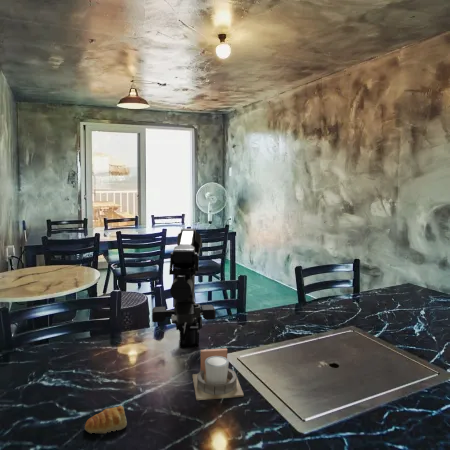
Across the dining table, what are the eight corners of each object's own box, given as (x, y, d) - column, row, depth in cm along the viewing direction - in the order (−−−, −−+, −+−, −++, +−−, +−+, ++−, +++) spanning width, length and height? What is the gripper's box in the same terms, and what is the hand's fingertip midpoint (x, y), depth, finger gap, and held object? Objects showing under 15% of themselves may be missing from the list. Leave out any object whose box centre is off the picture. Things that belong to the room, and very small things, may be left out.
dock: (196, 400, 102) (196, 389, 101) (192, 375, 115) (192, 366, 114) (243, 396, 104) (243, 386, 104) (234, 372, 117) (234, 363, 116)
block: (200, 373, 114) (201, 351, 114) (200, 371, 115) (200, 349, 115) (227, 371, 116) (227, 350, 115) (226, 370, 117) (226, 348, 116)
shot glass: (232, 381, 111) (232, 358, 110) (222, 392, 105) (222, 368, 104) (211, 376, 114) (211, 353, 113) (200, 387, 107) (200, 363, 107)
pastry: (87, 441, 86) (86, 425, 85) (82, 424, 92) (82, 409, 91) (128, 428, 90) (128, 413, 90) (122, 413, 96) (121, 399, 96)
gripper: (151, 299, 104) (151, 354, 106) (218, 297, 107) (218, 350, 109) (152, 288, 115) (152, 337, 117) (213, 286, 118) (212, 334, 120)
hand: (183, 340), depth 115 cm, fingers closed
